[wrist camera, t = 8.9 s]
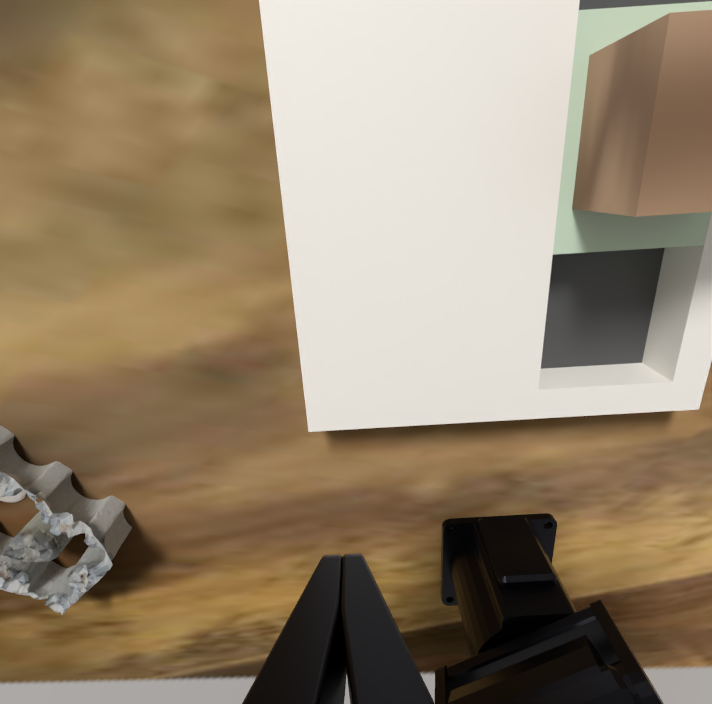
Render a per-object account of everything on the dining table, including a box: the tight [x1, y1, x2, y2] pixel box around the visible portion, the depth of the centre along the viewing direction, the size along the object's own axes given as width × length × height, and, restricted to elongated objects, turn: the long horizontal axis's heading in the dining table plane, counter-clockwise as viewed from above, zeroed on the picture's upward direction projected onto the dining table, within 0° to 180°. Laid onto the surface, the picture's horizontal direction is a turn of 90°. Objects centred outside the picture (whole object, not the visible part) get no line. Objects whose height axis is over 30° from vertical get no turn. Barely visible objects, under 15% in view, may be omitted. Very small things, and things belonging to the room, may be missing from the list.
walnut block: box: [572, 10, 712, 217], centre depth 14 cm, size 5×5×4 cm
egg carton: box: [0, 426, 132, 614], centre depth 23 cm, size 11×8×4 cm
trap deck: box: [259, 0, 712, 432], centre depth 17 cm, size 23×18×2 cm
